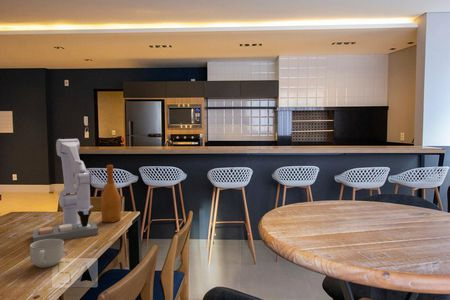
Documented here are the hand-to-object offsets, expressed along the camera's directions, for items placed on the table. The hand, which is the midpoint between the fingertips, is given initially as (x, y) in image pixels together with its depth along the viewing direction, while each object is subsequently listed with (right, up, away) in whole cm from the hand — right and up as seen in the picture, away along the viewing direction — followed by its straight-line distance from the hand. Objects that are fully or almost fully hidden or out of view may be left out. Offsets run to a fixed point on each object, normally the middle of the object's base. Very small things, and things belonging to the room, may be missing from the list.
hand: (84, 226), depth 152 cm
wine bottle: (+6, -2, +20) cm, 21 cm away
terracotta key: (-14, -1, -8) cm, 16 cm away
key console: (-7, -3, -4) cm, 9 cm away
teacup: (+2, -6, -37) cm, 37 cm away
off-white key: (-7, -1, -4) cm, 8 cm away
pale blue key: (0, -2, 0) cm, 2 cm away
